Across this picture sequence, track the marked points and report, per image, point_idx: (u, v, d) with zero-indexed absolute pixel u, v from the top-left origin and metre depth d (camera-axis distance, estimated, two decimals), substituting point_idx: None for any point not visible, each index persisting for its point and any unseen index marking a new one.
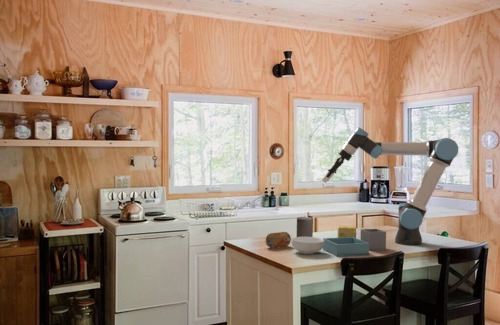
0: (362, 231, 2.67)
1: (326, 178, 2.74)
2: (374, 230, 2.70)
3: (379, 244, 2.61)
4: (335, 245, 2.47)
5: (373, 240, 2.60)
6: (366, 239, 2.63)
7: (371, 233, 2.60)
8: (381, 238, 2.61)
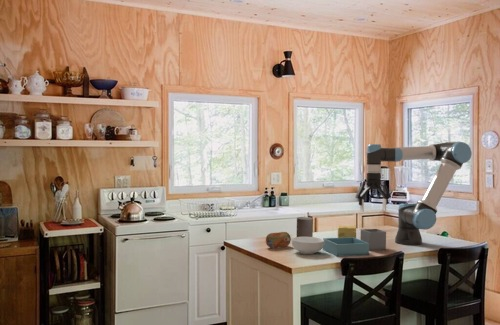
0: (362, 231, 2.67)
1: (361, 206, 2.64)
2: (374, 230, 2.70)
3: (379, 244, 2.61)
4: (335, 245, 2.47)
5: (373, 240, 2.60)
6: (366, 239, 2.63)
7: (371, 233, 2.60)
8: (381, 238, 2.61)
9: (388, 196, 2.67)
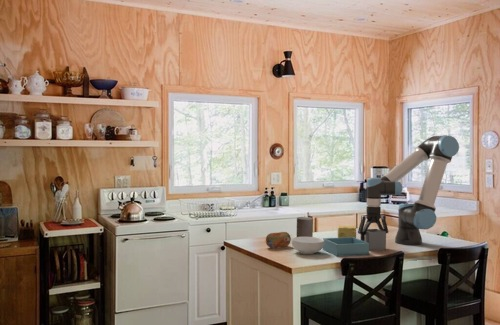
0: None
1: None
2: (374, 230, 2.70)
3: (379, 243, 2.61)
4: (335, 245, 2.47)
5: (373, 240, 2.60)
6: (366, 239, 2.63)
7: (371, 233, 2.60)
8: (381, 238, 2.61)
9: (386, 231, 2.67)
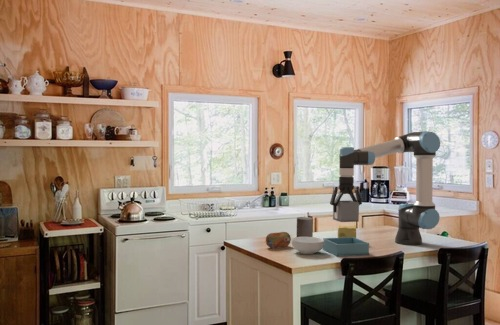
0: None
1: (335, 213, 2.54)
2: (347, 202, 2.61)
3: (351, 215, 2.51)
4: (335, 245, 2.47)
5: (345, 211, 2.50)
6: (338, 210, 2.53)
7: (343, 204, 2.50)
8: (354, 209, 2.52)
9: (359, 203, 2.57)
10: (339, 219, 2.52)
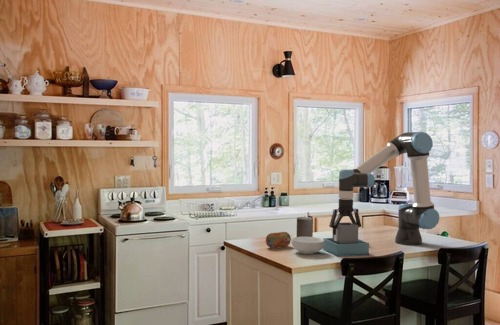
0: None
1: (335, 236, 2.55)
2: (347, 224, 2.61)
3: (350, 237, 2.51)
4: (335, 245, 2.47)
5: (344, 234, 2.51)
6: (338, 233, 2.53)
7: (342, 227, 2.50)
8: (353, 232, 2.52)
9: (358, 225, 2.57)
10: (338, 242, 2.52)
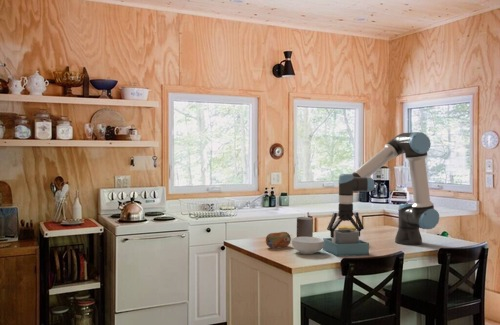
0: None
1: (333, 239, 2.54)
2: (347, 231, 2.61)
3: None
4: (335, 245, 2.47)
5: (345, 241, 2.51)
6: (338, 240, 2.53)
7: (342, 234, 2.50)
8: (353, 239, 2.52)
9: (361, 228, 2.57)
10: None
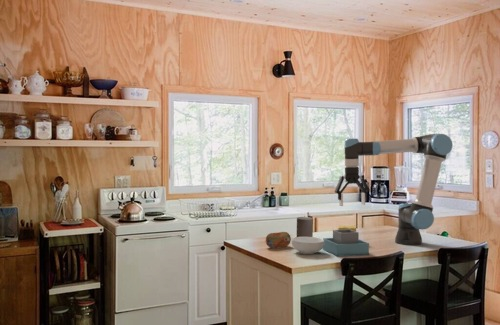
0: (334, 232, 2.58)
1: (340, 201, 2.64)
2: (347, 231, 2.61)
3: None
4: (335, 245, 2.47)
5: (345, 241, 2.51)
6: (338, 240, 2.53)
7: (342, 234, 2.50)
8: (353, 239, 2.52)
9: (367, 190, 2.68)
10: None
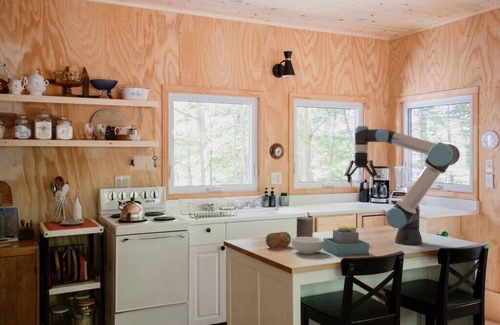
0: (334, 232, 2.58)
1: (349, 183, 2.86)
2: (347, 231, 2.61)
3: None
4: (335, 245, 2.47)
5: (345, 241, 2.51)
6: (338, 240, 2.53)
7: (342, 234, 2.50)
8: (353, 239, 2.52)
9: (374, 174, 2.90)
10: None
